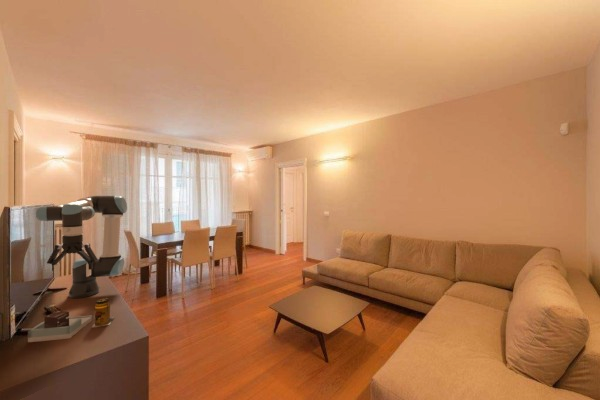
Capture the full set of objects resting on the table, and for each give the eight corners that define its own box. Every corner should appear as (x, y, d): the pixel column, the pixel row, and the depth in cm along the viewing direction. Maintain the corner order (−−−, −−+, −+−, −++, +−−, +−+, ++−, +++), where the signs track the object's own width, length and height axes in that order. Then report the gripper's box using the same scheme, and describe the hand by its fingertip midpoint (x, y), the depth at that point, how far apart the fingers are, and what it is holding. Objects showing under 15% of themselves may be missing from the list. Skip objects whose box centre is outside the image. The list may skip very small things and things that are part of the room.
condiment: (91, 328, 119) (91, 303, 119) (97, 320, 127) (97, 297, 127) (109, 325, 122) (109, 301, 122) (114, 317, 130) (114, 294, 130)
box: (55, 333, 110) (56, 317, 110) (43, 332, 111) (43, 316, 111) (69, 326, 116) (69, 311, 116) (57, 325, 117) (58, 310, 117)
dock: (56, 322, 123) (56, 313, 123) (92, 319, 127) (92, 310, 127) (27, 342, 107) (28, 330, 107) (69, 338, 110) (70, 327, 110)
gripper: (36, 236, 116) (36, 280, 117) (97, 235, 122) (97, 277, 122) (48, 233, 123) (49, 275, 124) (105, 233, 129) (105, 272, 130)
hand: (73, 276), depth 123 cm, fingers open, 13 cm apart
